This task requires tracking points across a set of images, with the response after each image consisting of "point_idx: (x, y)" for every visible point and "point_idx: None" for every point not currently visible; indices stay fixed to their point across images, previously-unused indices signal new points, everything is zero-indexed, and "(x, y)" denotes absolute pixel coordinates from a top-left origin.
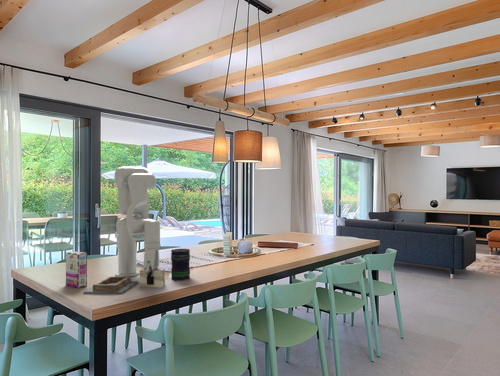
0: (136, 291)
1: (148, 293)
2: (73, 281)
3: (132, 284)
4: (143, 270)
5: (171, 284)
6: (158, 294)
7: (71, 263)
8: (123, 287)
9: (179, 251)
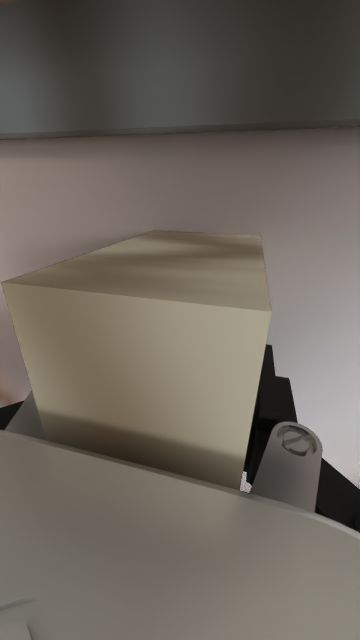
0: (19, 249)
1: (4, 350)
2: None
3: (170, 112)
4: (52, 369)
5: (243, 471)
6: (6, 404)
7: None
8: (12, 43)
9: None
